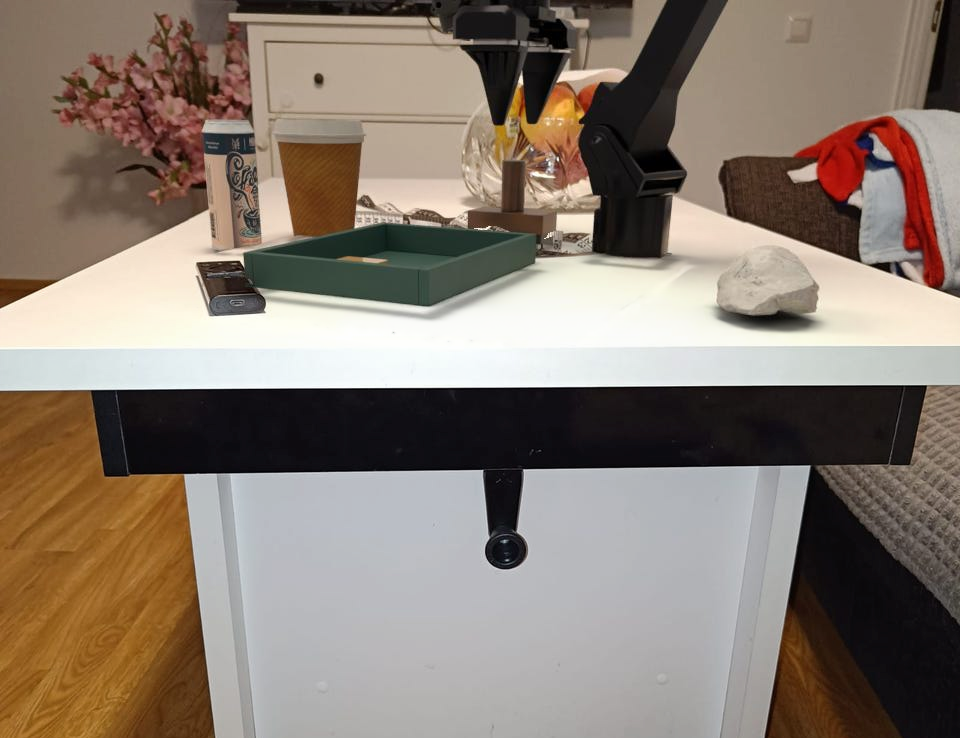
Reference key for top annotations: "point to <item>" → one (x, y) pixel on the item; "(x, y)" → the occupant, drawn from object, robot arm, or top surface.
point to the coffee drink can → (231, 184)
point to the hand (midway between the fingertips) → (516, 124)
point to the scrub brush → (515, 208)
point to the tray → (391, 262)
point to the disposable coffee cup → (320, 172)
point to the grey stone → (767, 284)
